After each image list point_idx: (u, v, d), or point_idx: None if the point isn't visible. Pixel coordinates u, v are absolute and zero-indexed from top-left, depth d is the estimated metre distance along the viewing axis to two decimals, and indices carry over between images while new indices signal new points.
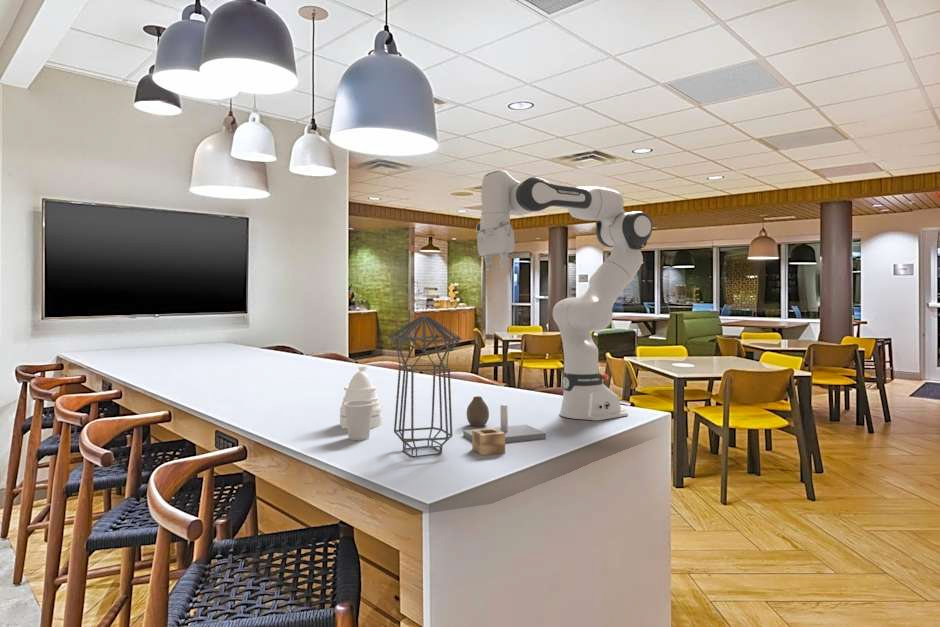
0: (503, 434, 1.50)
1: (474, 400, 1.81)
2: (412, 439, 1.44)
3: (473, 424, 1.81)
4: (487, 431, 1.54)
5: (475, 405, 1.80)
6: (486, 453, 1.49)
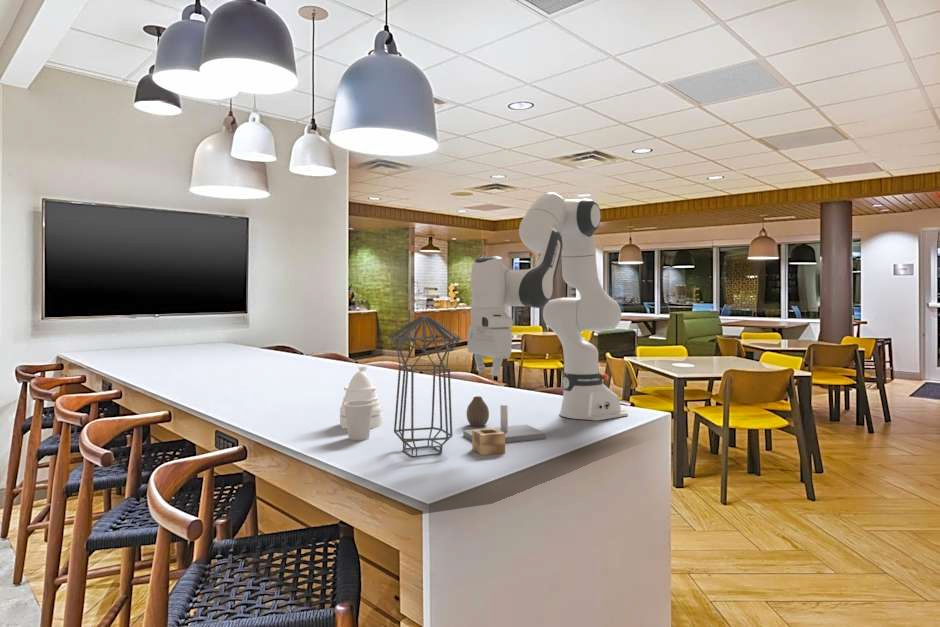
0: (503, 434, 1.50)
1: (474, 400, 1.81)
2: (412, 439, 1.44)
3: (473, 424, 1.81)
4: (487, 431, 1.54)
5: (475, 405, 1.80)
6: (486, 453, 1.49)
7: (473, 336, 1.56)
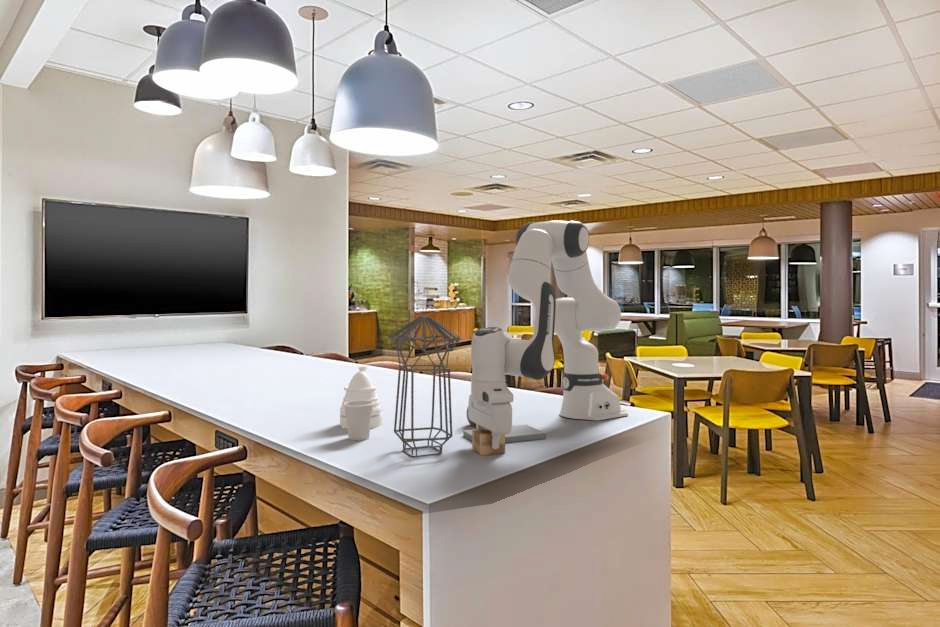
0: None
1: None
2: (412, 439, 1.44)
3: (473, 424, 1.81)
4: (487, 431, 1.54)
5: None
6: (486, 453, 1.49)
7: (474, 405, 1.57)
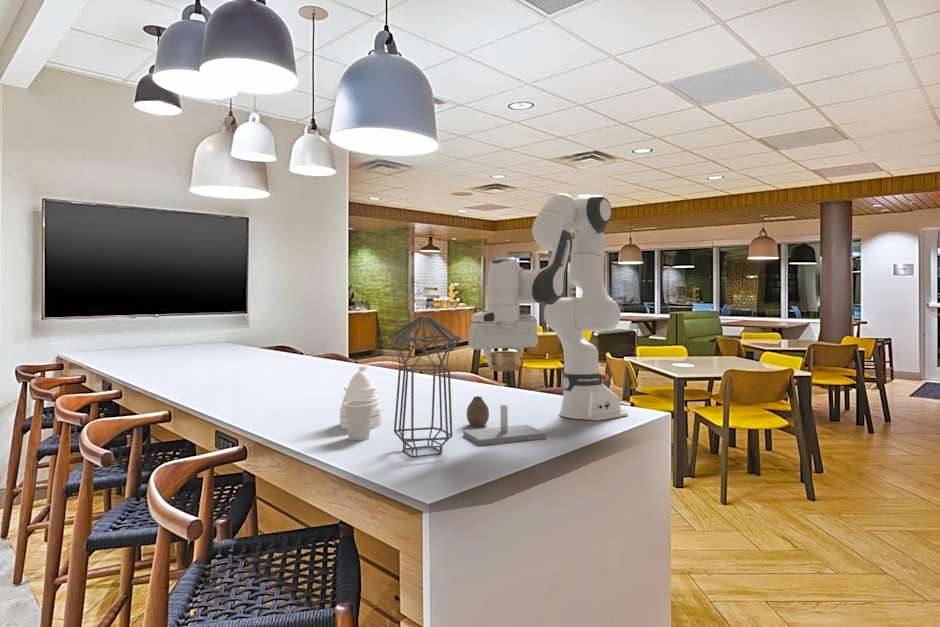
0: (497, 354, 1.63)
1: (474, 400, 1.81)
2: (412, 439, 1.44)
3: (473, 424, 1.81)
4: (510, 353, 1.67)
5: (475, 405, 1.80)
6: (490, 368, 1.67)
7: None
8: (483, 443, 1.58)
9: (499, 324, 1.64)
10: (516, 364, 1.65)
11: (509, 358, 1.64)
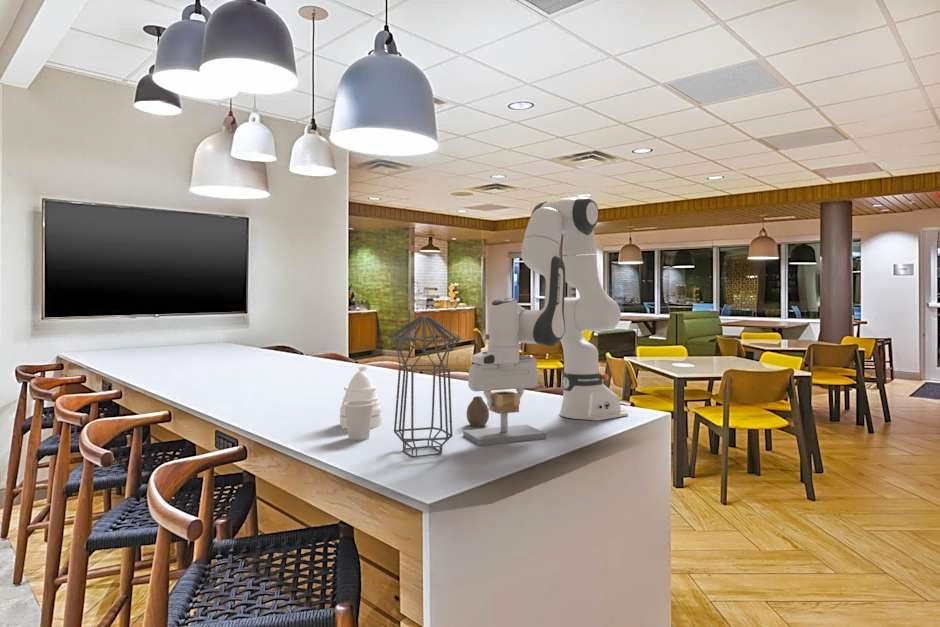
0: (497, 396, 1.63)
1: (474, 400, 1.81)
2: (412, 439, 1.44)
3: (473, 424, 1.81)
4: (510, 394, 1.67)
5: (475, 405, 1.80)
6: (490, 409, 1.68)
7: None
8: (483, 443, 1.58)
9: (499, 366, 1.64)
10: (516, 405, 1.65)
11: (509, 400, 1.64)
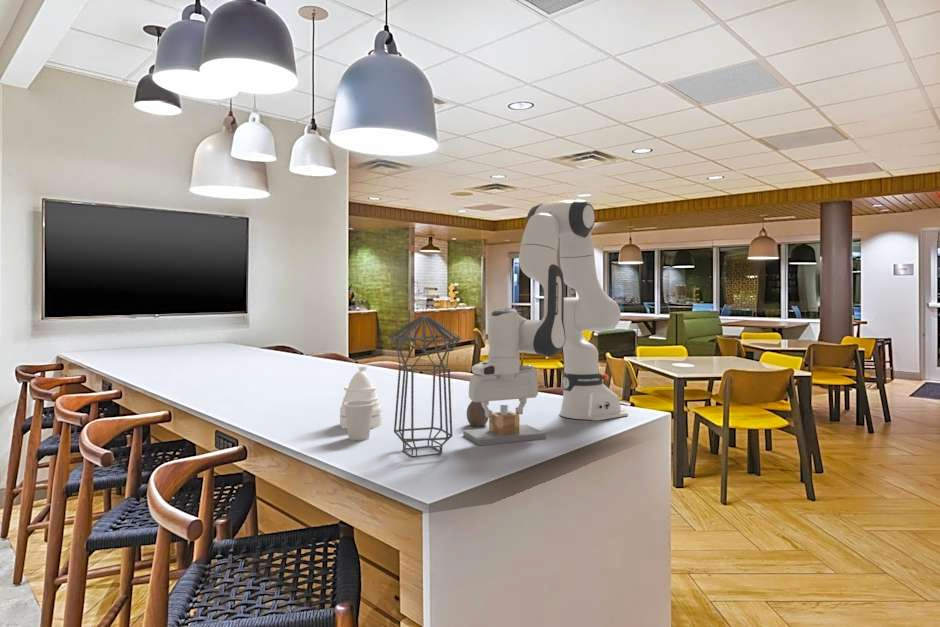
0: (497, 417, 1.63)
1: None
2: (412, 439, 1.44)
3: (473, 424, 1.81)
4: (510, 415, 1.67)
5: (475, 405, 1.80)
6: (490, 430, 1.68)
7: None
8: (483, 443, 1.58)
9: (499, 376, 1.64)
10: (516, 427, 1.65)
11: (509, 421, 1.64)
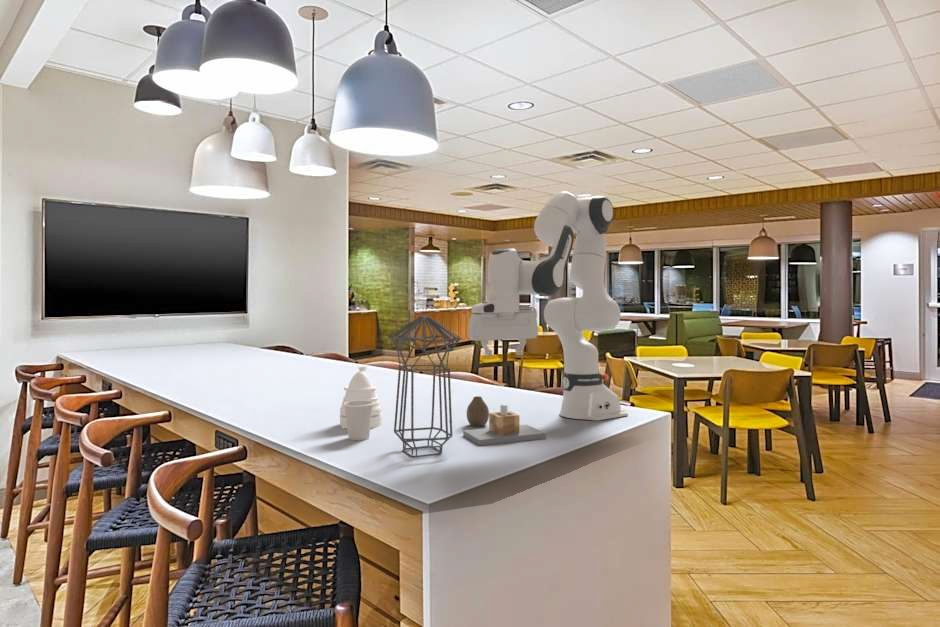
0: (497, 417, 1.63)
1: (474, 400, 1.81)
2: (412, 439, 1.44)
3: (473, 424, 1.81)
4: (510, 415, 1.67)
5: (475, 405, 1.80)
6: (490, 430, 1.68)
7: None
8: (483, 443, 1.58)
9: (499, 315, 1.63)
10: (516, 427, 1.65)
11: (509, 421, 1.64)
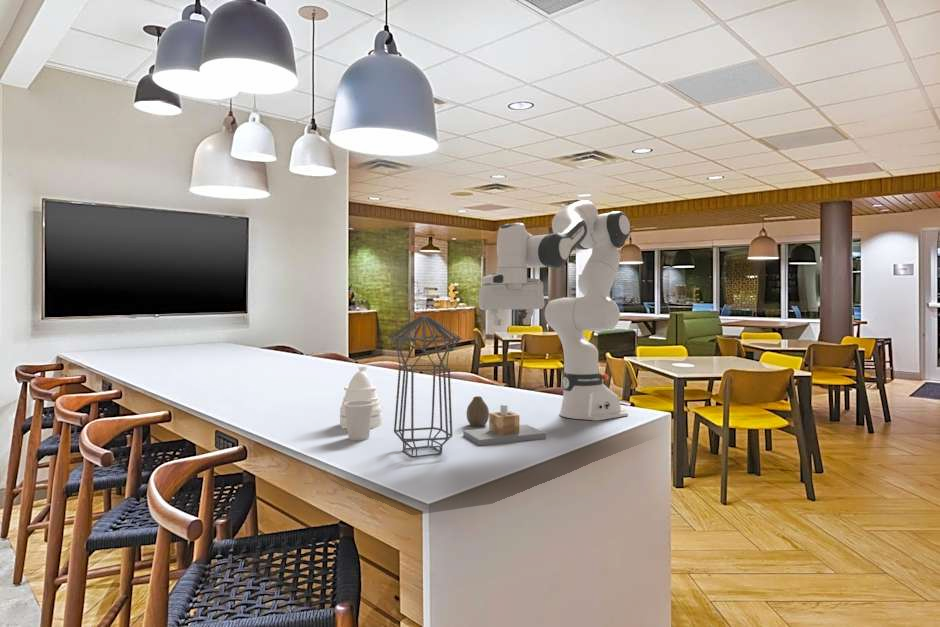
0: (497, 417, 1.63)
1: (474, 400, 1.81)
2: (412, 439, 1.44)
3: (473, 424, 1.81)
4: (510, 415, 1.67)
5: (475, 405, 1.80)
6: (490, 430, 1.68)
7: None
8: (483, 443, 1.58)
9: (508, 286, 1.72)
10: (516, 427, 1.65)
11: (509, 421, 1.64)
